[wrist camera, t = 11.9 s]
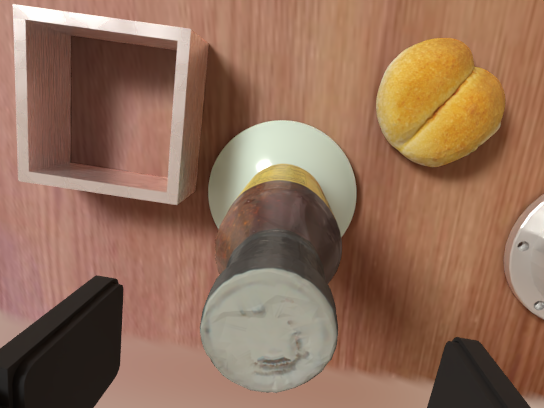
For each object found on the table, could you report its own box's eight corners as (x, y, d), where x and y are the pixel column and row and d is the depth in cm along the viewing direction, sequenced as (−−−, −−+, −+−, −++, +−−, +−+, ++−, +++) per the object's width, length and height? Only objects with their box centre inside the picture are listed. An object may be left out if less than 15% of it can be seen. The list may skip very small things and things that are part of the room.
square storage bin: (209, 43, 28) (190, 28, 23) (195, 190, 31) (177, 204, 26) (61, 22, 28) (12, 4, 24) (61, 170, 31) (18, 180, 26)
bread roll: (431, 19, 27) (454, 3, 23) (509, 106, 28) (544, 105, 24) (348, 103, 29) (357, 102, 25) (425, 183, 30) (445, 193, 26)
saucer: (368, 131, 29) (370, 132, 28) (340, 271, 32) (341, 275, 31) (217, 110, 29) (215, 109, 28) (203, 250, 32) (201, 253, 31)
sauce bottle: (305, 246, 31) (323, 471, 11) (235, 220, 30) (132, 403, 11) (336, 173, 29) (416, 291, 10) (261, 145, 29) (194, 210, 10)
